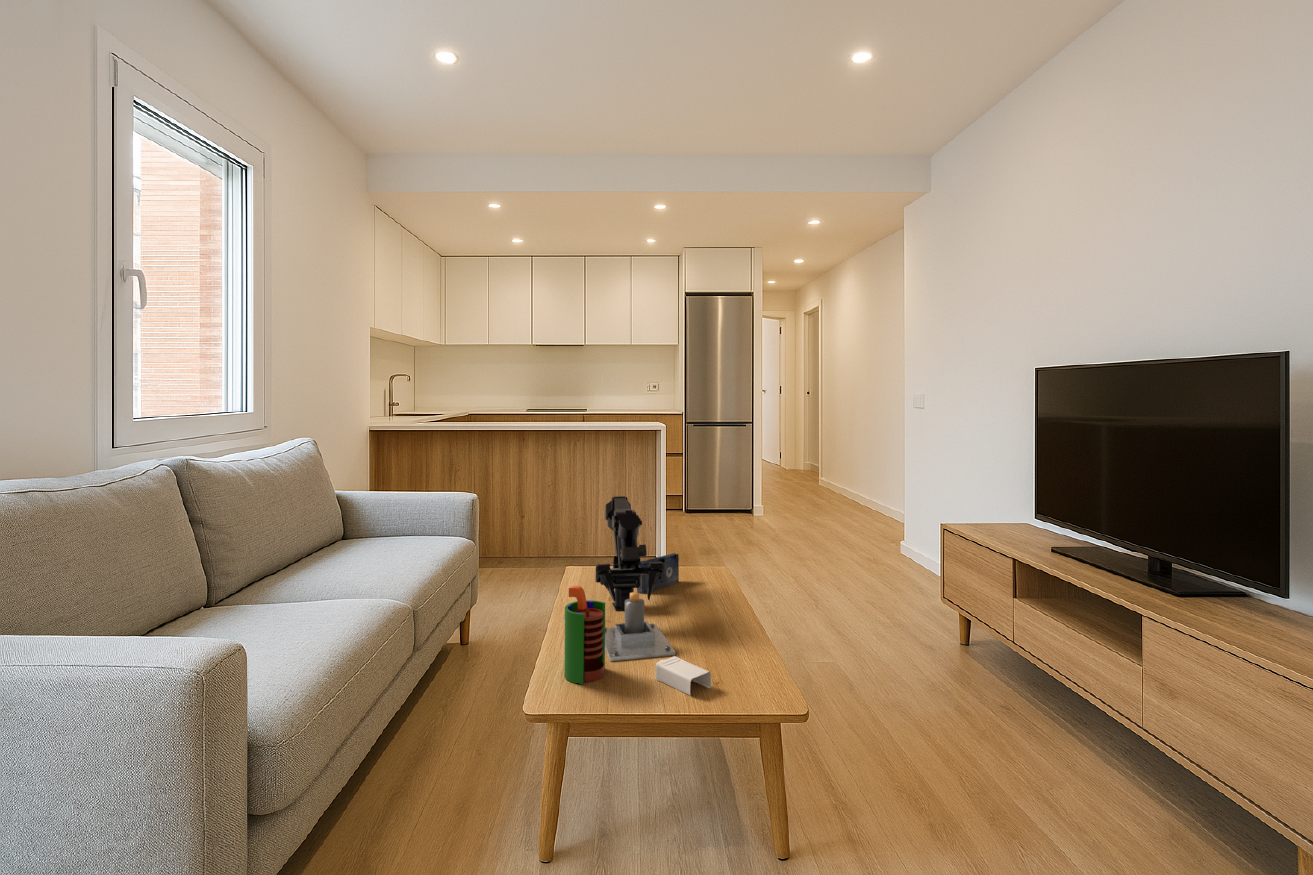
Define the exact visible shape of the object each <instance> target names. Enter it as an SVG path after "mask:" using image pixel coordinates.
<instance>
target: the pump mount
mask: <svg viewBox="0 0 1313 875" xmlns="http://www.w3.org/2000/svg"><path fill="white" fill-rule="evenodd" d="M605 653H606V654H607V657H608V659H609V662H620V661H629V660H639V659H650V658H651V659H652V658H660V657H671V656H672V657H673V656H675V655H676V651H675V649H674V648H673V646H672V645H671V643H670V641H669V640H668V639H667V638H666V637H665V635H664V633H663V632H662V630H661V629H660V627H659V626H658V625H657V624H656V623H655V624H654V623H649V622H648V621H644V632H642V633H630V634H625V622H622V623H615V624H614V627H608V628H607V627H605Z"/></svg>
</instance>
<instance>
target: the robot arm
mask: <svg viewBox="0 0 1313 875" xmlns="http://www.w3.org/2000/svg"><path fill="white" fill-rule="evenodd" d="M604 520H605V521H606V523H607V527H608V528H609V529H610V530H612V533H613V534H612V535H613V541H614V542H613V543H614V551H615V555H614V557H613V560H612V568H611V563H597V565H596V566H595V574H594V575H595V576H594V577H595V583H597V584H598V583H599V584H600V585H601V586H604V587H605V589H606V590H607V591H608V593H609V596H610V597H611V599H612V603H611V605H612V606H613V609H614V610H615V611H625V600H627V599H630V593H631V592H635V589H637V588H639V587H640V579H641V575H648V592H647V596H646V597H647V600H648V601H650V600H651V599H650V598H651V595H652V592H653V591H652V588H653V586H654V584H655V583H658V581H659V580H662V579H663V575H664V564H663V563H662V562H649V567H643V568H640V566H639V565H640V564H641V558H646V557H647V553H648V552H647V544H638V536H639V533H640V528H641V526H642V525H643V520H642V519H641V518H640V517H639V514H637V512H636V511H635V509H632V503H630V501H629V500H628V497H627V496H625V495H620V496H618V495H617V496H615V495H614V496H612V497H611V500H609V502H607V503H606V504H605V508H604Z"/></svg>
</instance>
